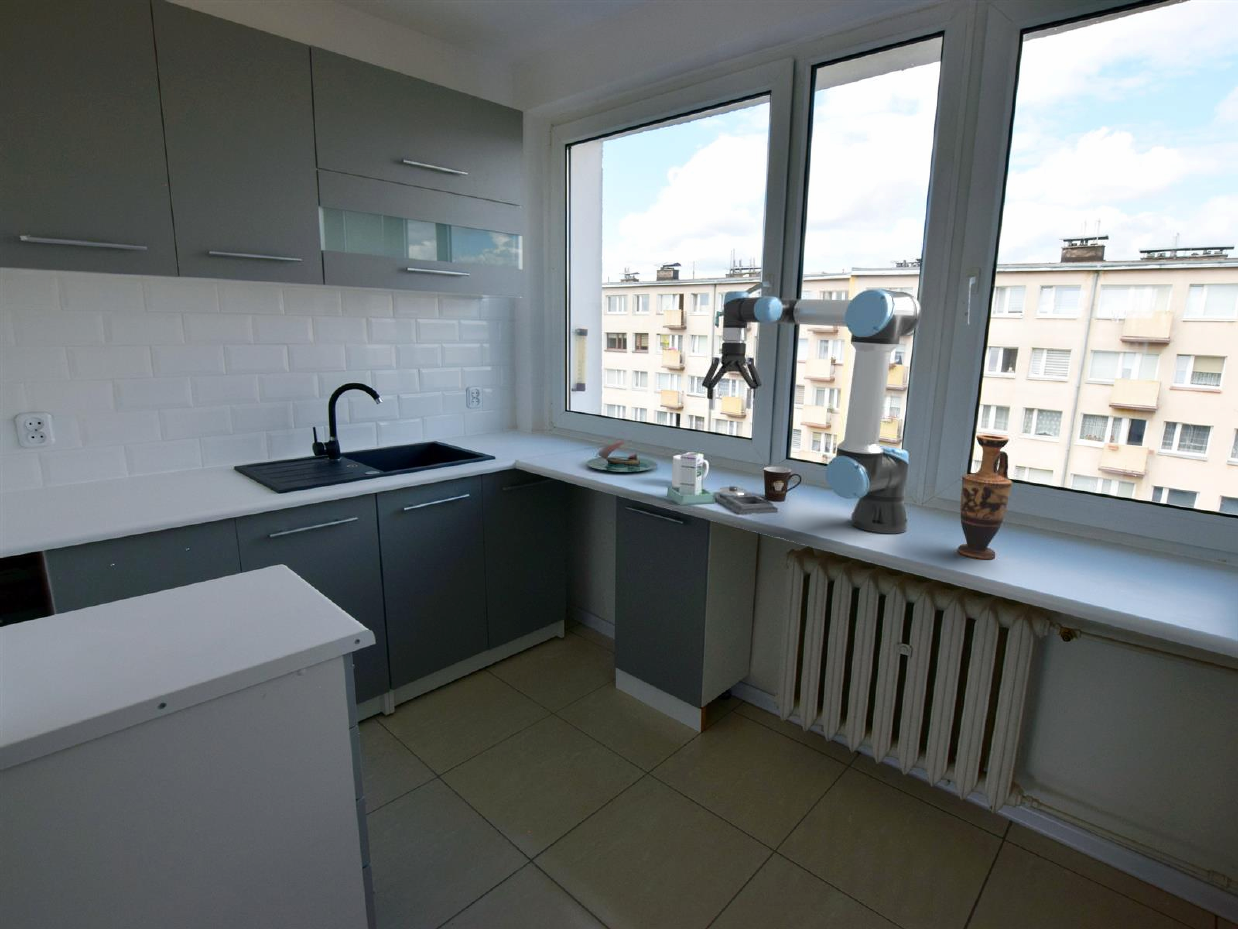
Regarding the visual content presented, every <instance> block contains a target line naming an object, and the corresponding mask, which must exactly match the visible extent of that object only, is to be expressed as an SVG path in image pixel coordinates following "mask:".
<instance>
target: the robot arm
mask: <svg viewBox="0 0 1238 929" xmlns="http://www.w3.org/2000/svg"><path fill="white" fill-rule="evenodd" d="M749 295H750V294H749V292H748V291H745V290H743V291H742V290H737V291H736V290H733V291H727V292H726V293H725V294H724V301H723V306H722V307H723V316H722V317H723V320H722V341H723V342H722V343H721V358H719V357H717V356H716V357H715V356H713V357H712V359H711V365H710V367H709V369H708V370H707V373H706V375H705V377H704V379H703V381H702V382H701V386H702V387H705V389H706V390H707V395H706V398H707V399H708V409H709V410H712V411H715V409H716V393H717V391H716V390H717V389H716V388H715V387H716V386H717V384H718V383H719V382H720V381H721V380H722V378H723V377H724V375H725V374H727V373H731V372H732V373H733V372H734V373H738V374H740V375H741V377H742V378H743V380H744V381H745V382H746V384H747V386H748V387H749V388H748V387H747V388H746V402H745V406H746V407H745V409H749V410H753V403H754V399H755V398H756V390H757V389H758V387H759V388H760V387H762V382H761V379H760V377H759V374H758V370H757V368H756V366H755V358H754V357H750V356H749V357H746V350H747V343H746V342H747V338H748V337H747V336H748V323H752V324H753V323H754V324H755V323H758V324H759V323H763V324H785V325H787V324H788V325H804V326H805V325H806V326H807V325H809V326H826V327H828V326H829V327H844V328H845V327H846V328H848V331H849V333H851V336H850V345H852V346H853V348H854V349H855V353H854V362H853V370H852V378H851V385H850V393H849V398H848V399H849V400H848V406H847V414H846V423H845V432H844V439H843V440H842V441H840V443H838V444H837V446H836V453H835V457H833V458H832V459H831V460H830V461H828V463H827V465H826V468H825V479H826V482H827V485H828V487H829V488H830V489H831V492H833V493H834V494H835V495H836V496H838V497H839V498H842V499H846V500H851V499H854V500H855V499H857V502H856V504H855V507H854V509H853V511H852V513H851V514H850V524H851V525H852V526H853V527H855V528H857V529H860V530H862V531H863V530H864V531H868V532H873V533H877V534H878V533H879V534H887V535H888V534H902V533H905V532H907V530H908V519H907V513H906V509H905V508H906V507H905V504H904V501H905V492H906V491H905V490H906V484H907V477H908V469H909V468H908V467H909V464H910V462H909V457H910V455H909V452H908V451H907V450H905V449H902V448H897V447H890V446H889V447H888V446H884V445H880V444H879V441H880V434H881V426H882V419H883V413H884V412H883V411H884V406H885V398H886V392H887V384H888V377H889V371H890V364H891V357H892V352H893V351H894V350H895V349H896V348H899V345H900V340H901V337H904V336H907V335H909V334H910V333H912V332H913V331H914V330H915V329H916V328H917V327H918V325H919V323H920V321H921V320H922V307H921V303H920V302H919V300H918V299H917V298H916V297H915V296H914V295H913V294H910V293H908V292H905V291H896V290H891V289H890V290H889V289H883V288H876V289H875V288H874V289H866V290H863V291H861V292H859V293H857V294H856V296H854V297H853V298H852V299H815V298H814V299H811V298H809V299H807V298H806V299H805V298H804V299H802V298H800V299H799V298H779V297H777V296H771V295H770V296H769V295H764V296H755V297H750V296H749ZM720 364H721V366H720V367H719V365H720ZM745 365H746V366H747V368H748V371H749V373H748V371H747V369H746V367H745ZM718 367H719V369H718ZM717 370H718V371H717ZM716 371H717V372H716Z"/></svg>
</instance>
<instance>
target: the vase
mask: <svg viewBox="0 0 1238 929" xmlns="http://www.w3.org/2000/svg"><path fill="white" fill-rule="evenodd" d="M975 437H976V440H977V443H978V445H979V446H980V447H981V448H982V456H981V463H980V467H979V469H978V471H976V472H974V473H969V474H968V473H967V474H963V475H962V477H961V478H962V479H961V496H960V524H961V529H962V532H963V535H964V538H965V542H966V543H963V544H960V545H959V546H958V548H957V552H958V553H959V554H961V555H963V556H966V557H970V558H973V559H980V560H992V559H995V558H996V551H994V549H992V548H989V544H990V543H991V542H992V540H993V539H994V537H995V536H996V534H997V533H998V532H999V530H1000V527H1001V526H1002V523H1003V520H1004V518H1005V514H1006V511H1007V507H1008V502H1009V498H1010V496H1011V494H1010V493H1011V490H1012V486H1013V481H1012V480H1011V479H1010V478H1009V474H1008V472H1009V471H1008V470H1009V455H1008V453H1007V452H1005V451H1002V450H1001V449H1002V448H1005V446H1006V445H1007V444H1008V442H1009V441H1010V439H1009V438H1008V437H1004V436H999V435H991V434H978V435H976V436H975Z"/></svg>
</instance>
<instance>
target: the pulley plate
mask: <svg viewBox="0 0 1238 929" xmlns="http://www.w3.org/2000/svg"><path fill="white" fill-rule="evenodd" d="M712 493H714V494H715V502H717V503H719V504H720V505H722V506H723V507H725V508H727V509H728V510H730V511H732V510H733V511H732V512H734V513H735V514H737V513H738V514H737V515H739V514H741V515H751V514H750V513H757V514H768V513H769V514H770V513H778V507H776V506H774V503H772V502H771V501H768V500H766V499H765V498H762V497H761V496H758V495H752V494H750V493H749V492H748V490H747V489H745V488H742V487H738V486H735V485H733V486H731V485H730V486H723V487H719V488H718V492H715V491H714V492H712ZM748 513H749V514H748Z"/></svg>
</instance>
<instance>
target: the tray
mask: <svg viewBox="0 0 1238 929" xmlns="http://www.w3.org/2000/svg"><path fill="white" fill-rule="evenodd" d="M666 493H667V494H666V496H667V497H668V498H670V500H673V502H675V503H677V504H678V505H680V506H693V505H694V506H695V505H696V506H697V505H712V504H716V503H715V502H716V501H715V494H714V493H713V492H712V491H710V490H709V489H707V488H704V487H703V486H702V494H698V495H681V494H680V493H679V487H673V486H672V487H671V486H667V492H666Z"/></svg>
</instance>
